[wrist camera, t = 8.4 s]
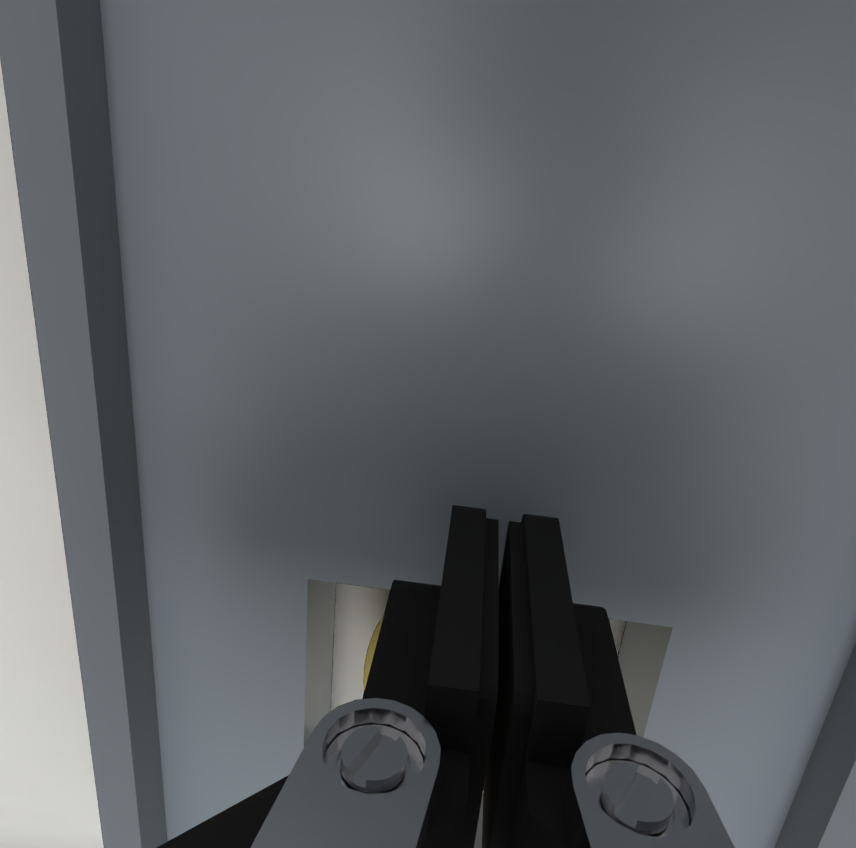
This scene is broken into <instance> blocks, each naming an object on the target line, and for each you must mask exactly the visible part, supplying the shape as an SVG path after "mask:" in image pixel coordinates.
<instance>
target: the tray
mask: <svg viewBox="0 0 856 848" xmlns="http://www.w3.org/2000/svg"><path fill="white" fill-rule="evenodd" d="M0 59H1V66H2V74H3V81H4V89H5V97H6V104H7V112H8V120H9V127H10V135H11V143H12V150H13V158H14V165H15V173H16V181H17V188H18V196H19V204H20V211H21V219H22V227H23V234H24V242H25V249H26V257H27V265H28V272H29V280H30V288H31V295H32V303H33V311H34V318H35V326H36V333H37V341H38V349H39V356H40V364H41V372H42V379H43V387H44V395H45V402H46V410H47V417H48V425H49V433H50V440H51V448H52V456H53V463H54V471H55V479H56V486H57V494H58V502H59V509H60V517H61V524H62V532H63V540H64V547H65V555H66V563H67V570H68V578H69V586H70V593H71V601H72V608H73V616H74V624H75V631H76V639H77V647H78V654H79V662H80V670H81V677H82V685H83V692H84V700H85V708H86V715H87V723H88V731H89V738H90V746H91V754H92V761H93V769H94V776H95V784H96V792H97V799H98V807H99V815H100V822H101V830H102V838H103V845H104V848H156V847H158V846H160V845H162V844H164V843H166V842H167V841H169V840H171V839H173V838H175V837H177V836H178V835H180V834H182V833H184V832H186V831H188V830H189V829H191V828H193V827H195V826H197V825H198V824H200V823H202V822H204V821H206V820H208V819H209V818H211V817H213V816H215V815H217V814H219V813H220V812H222V811H224V810H226V809H228V808H229V807H231V806H233V805H235V804H237V803H239V802H240V801H242V800H244V799H246V798H248V797H250V796H251V795H253V794H255V793H257V792H259V791H261V790H262V789H264V788H266V787H268V786H270V785H271V784H273V783H275V782H277V781H279V780H281V779H282V778H284V777H286V776H288V775H289V774H290V772H291V771H292V769H293V767H294V765H295V763H296V761H297V759H298V757H299V756H300V754H301V752H302V750H303V748H304V746H305V744H306V742H307V741H308V739H309V737H310V735H311V733H312V731H313V730H314V728H315V727H316V726H317V724H318V723H319V722H320V721H321V719H322V718H323V717H324V716H325V715H327V714H328V713H329V712H330V710H331V686H332V663H333V640H334V616H335V593H336V583H342V584H349V585H357V586H364V587H372V588H379V589H387V590H390V589H391V586H392V582H393V580H402V581H409V582H417V583H425V584H432V585H440V586H441V585H442V577H443V570H444V563H445V556H446V548H447V541H448V534H449V527H450V519H451V512H452V505H457V506H465V507H474V508H482V509H486V518H489V519H497V520H499V581H500V575H501V568H502V561H503V555H504V548H505V541H506V534H507V528H508V523H509V521H513V522H521V520H522V516H523V514H530V515H538V516H546V517H554V518H558V519H559V523H560V529H561V535H562V541H563V547H564V553H565V559H566V565H567V571H568V577H569V583H570V589H571V595H572V601H573V603H576V604H584V605H592V606H599V607H603V608H605V609H606V612H607V615H608V618H609V619H613V620H620V621H627V623H626V627H625V631H624V635H623V639H622V644H621V648H620V652H619V656H618V660H619V664H620V668H621V672H622V676H623V681H624V685H625V689H626V693H627V697H628V701H629V706H630V710H631V714H632V718H633V722H634V726H635V730H636V735H638V736H641V737H644V738H646V739H649V740H651V741H654V742H657V743H659V744H661V745H662V746H664V747H665V748H667V749H669V750H670V751H672V752H673V753H675V754H677V755H678V756H679V757H680V758H681V759H682V760H683V761H684V762H685V763H686V764H687V765H688V766H689V767H690V768H692V769H693V770H694V772H695V773H696V775H697V776H698V778H699V779H700V781H701V782H702V784H703V785H704V787H705V789H706V791H707V793H708V795H709V797H710V799H711V801H712V803H713V805H714V807H715V809H716V811H717V813H718V815H719V817H720V819H721V821H722V823H723V825H724V827H725V829H726V831H727V833H728V835H729V837H730V839H731V841H732V843H733V845H734V847H735V848H856V0H0ZM482 821H483V794H482V800H481V807H480V813H479V819H478V825H477V832H476V838H475V844H474V848H482Z"/></svg>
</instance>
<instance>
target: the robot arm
mask: <svg viewBox="0 0 856 848" xmlns="http://www.w3.org/2000/svg"><path fill="white" fill-rule="evenodd" d="M482 794H483V821H482V848H735V847H734V845H733V843H732V841H731V839H730V837H729V835H728V833H727V831H726V829H725V827H724V825H723V823H722V821H721V819H720V817H719V815H718V813H717V811H716V809H715V807H714V805H713V803H712V801H711V799H710V797H709V795H708V793H707V791H706V789H705V787H704V785H703V784H702V782H701V781H700V779H699V778H698V776H697V775H696V773H695V772H694V770H693V769H692V768H690V767H689V766H688V765H687V764H686V763H685V762H684V761H683V760H682V759H681V758H680V757H679V756H678V755H677V754H675V753H673V752H672V751H670V750H669V749H667V748H665V747H664V746H662V745H661V744H659V743H657V742H654V741H651V740H649V739H646V738H644V737H641V736H638V735H636V730H635V726H634V722H633V718H632V714H631V710H630V706H629V701H628V697H627V693H626V689H625V685H624V681H623V676H622V672H621V668H620V664H619V660H618V656H617V651H616V647H615V643H614V639H613V635H612V631H611V626H610V622H609V618H608V615H607V612H606V609H605V608H603V607H599V606H592V605H584V604H576V603H573V601H572V595H571V589H570V583H569V577H568V571H567V565H566V559H565V553H564V547H563V541H562V535H561V529H560V523H559V519H558V518H554V517H546V516H538V515H530V514H523V516H522V520H521V522H513V521H509V523H508V528H507V534H506V541H505V548H504V555H503V561H502V568H501V575H500V581H499V520H497V519H489V518H486V509H482V508H474V507H465V506H457V505H452V512H451V519H450V527H449V534H448V541H447V548H446V556H445V563H444V570H443V577H442V585H441V586H440V585H432V584H425V583H417V582H409V581H402V580H393V582H392V586H391V589H390V593H389V597H388V601H387V605H386V609H385V613H384V617H383V621H382V624H381V628H380V632H379V636H378V640H377V644H376V648H375V652H374V656H373V660H372V663H371V667H370V671H369V675H368V679H367V683H366V687H365V691H364V695H363V699H359V700H354V701H352V702H349V703H346V704H343V705H340V706H338V707H337V708H335V709H334V710H332V711H331V712H329V713H328V714H327V715H325V716H324V717H323V718H322V719H321V721H320V722H319V723H318V724H317V726H316V727H315V728H314V730H313V731H312V733H311V735H310V737H309V739H308V741H307V742H306V744H305V746H304V748H303V750H302V752H301V754H300V756H299V757H298V759H297V761H296V763H295V765H294V767H293V769H292V771H291V772H290V774H289V775H288V776H286V777H284V778H282V779H281V780H279V781H277V782H275V783H273V784H271V785H270V786H268V787H266V788H264V789H262V790H261V791H259V792H257V793H255V794H253V795H251V796H250V797H248V798H246V799H244V800H242V801H240V802H239V803H237V804H235V805H233V806H231V807H229V808H228V809H226V810H224V811H222V812H220V813H219V814H217V815H215V816H213V817H211V818H209V819H208V820H206V821H204V822H202V823H200V824H198V825H197V826H195V827H193V828H191V829H189V830H188V831H186V832H184V833H182V834H180V835H178V836H177V837H175V838H173V839H171V840H169V841H167V842H166V843H164V844H162V845H160V846H158V847H156V848H474V844H475V838H476V832H477V825H478V819H479V813H480V807H481V800H482Z"/></svg>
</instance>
